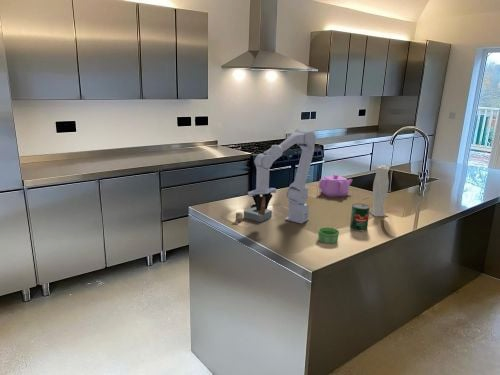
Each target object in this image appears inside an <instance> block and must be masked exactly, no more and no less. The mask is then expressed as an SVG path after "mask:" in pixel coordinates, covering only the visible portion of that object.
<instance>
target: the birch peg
mask: <svg viewBox="0 0 500 375" xmlns="http://www.w3.org/2000/svg"><path fill="white" fill-rule="evenodd" d="M243 218H244V212H240V211H238V212H236V213H235V222H236V221H237V223H242V222H243Z"/></svg>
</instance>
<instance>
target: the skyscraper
mask: <svg viewBox="0 0 500 375" xmlns="http://www.w3.org/2000/svg"><path fill="white" fill-rule="evenodd" d="M375 169H376V173H375V176H374V180H373V185H372V204H373V206H372V208H371V211H369V215H371V214H372V216H373V217H374V216H375V217H374V218H387V217H389V215H388V214H386V213H385V209H384V205H385V202H386V200H387V199H386V198H387V196H388V192H389V171H390V169H391V165H390V163H387V164H386V165H384V164H383V165H381V164H377V165H376V166H375Z"/></svg>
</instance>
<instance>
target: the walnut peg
mask: <svg viewBox="0 0 500 375" xmlns="http://www.w3.org/2000/svg"><path fill="white" fill-rule="evenodd" d="M260 197H262V201H261V209H260V211H258V214H259V215H264V214H265V201H266V197H265V196H260Z"/></svg>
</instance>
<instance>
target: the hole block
mask: <svg viewBox="0 0 500 375" xmlns="http://www.w3.org/2000/svg"><path fill="white" fill-rule="evenodd" d="M272 211H273V210H272V209H271V210H270V209H268V208H267V209H265V214H264V215H259V214H258V210H257V209H256V207H253V208H251V207H250V208H249V209H245V210H244V211H243V218H244V219H247V220H250V221H254V222H258V223H262V222H264V221H266V220H268V219H271V218H272V215H273V214H272V213H273V212H272Z"/></svg>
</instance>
